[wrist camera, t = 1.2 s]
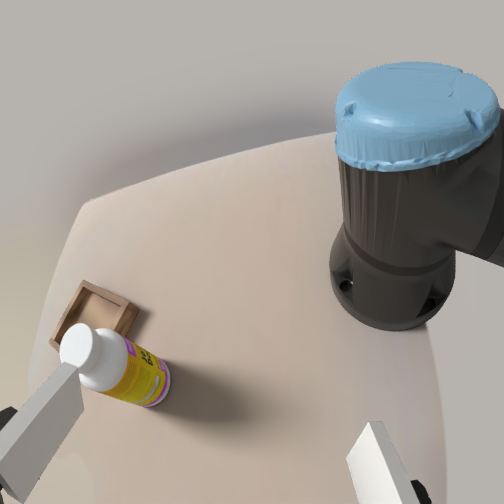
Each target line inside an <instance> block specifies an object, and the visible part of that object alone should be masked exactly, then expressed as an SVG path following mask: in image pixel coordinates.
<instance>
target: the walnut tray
mask: <svg viewBox="0 0 504 504" xmlns="http://www.w3.org/2000/svg"><path fill="white" fill-rule="evenodd" d="M138 311H139V309H138V308H137V307H135V306H134V305H133V304H132V303H130V302H129V301H127V300H125V299H123V298H120V297H118V296H116V295H114V294H112V293H110V292H108V291H106V290H103V289H101V288H99V287H97V286H95V285H93V284H91V283H89V282H87V281H85V280H83V281H82V282H81V284H80V286H79V287H78V289H77V291H76V292H75V294H74V296H73V298H72V299H71V301H70V303H69V305H68V307H67V308H66V310H65V312H64V314H63V316H62V317H61V319H60V321H59V323H58V325H57V327H56V329H55V331H54V333H53V335H52V337H51V339H50V341H49V344H50V345H51V346H52V347H53V348H55V349H56V350H57V351H58V352H59V353H60V345H61V341H62V339H63V336H64V335H65V333H66V332H67V330H68V329H69V328H70V327H72V326H73V325H75V324H78V323H84V324H86V325H88V326H90V327H91V328H93V329H94V330H96V329H100V328H107V329H111V330H113V331H115V332H116V333H118V334H120V335H121V336H123V337H125V336H126V334H127V332H128V330H129V328H130V326H131V324H132V322H133V320H134V319H135V317H136V315H137V313H138Z"/></svg>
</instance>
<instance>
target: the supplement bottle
mask: <svg viewBox="0 0 504 504" xmlns="http://www.w3.org/2000/svg"><path fill="white" fill-rule="evenodd" d="M60 359H61V362H62V363H63V362H64V361H65V362H67V363H70V364H72V365H74V366H77V367H78V371H79V379H80V381H81V382H82V383H83V384H84V385H85V386H86V387H87V388H89V389H91V390H94V391H96V392H99V393H102V394H105V395H108V396H111V397H114V398H117V399H120V400H123V401H126V402H129V403H132V404H135V405H139V406H143V407H149V406H154V405H156V404H158V403H159V402H161V401H162V400H163V399H164V398H165V396H166V395H167V393H168V390H169V387H170V373H169V370H168V367H167V366H166V364H165V363H164V362H163V361H162V360H161V359H160V358H158V357H156V356H155V355H153V354H151V353H150V352H148V351H146V350H145V349H143V348H141V347H139V346H138V345H136V344H134V343H133V342H131V341H129V340H128V339H126V338H124V337H123V336H121V335H120V334H118V333H116V332H115V331H113V330H111V329H107V328H100V329H96V330H94V329H93V328H91V327H90V326H88V325H86V324H84V323H78V324H75V325H73V326H72V327H70V328H69V329H68V330H67V332H66V333H65V335H64V336H63V339H62V341H61V345H60Z"/></svg>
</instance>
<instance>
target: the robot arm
mask: <svg viewBox="0 0 504 504" xmlns="http://www.w3.org/2000/svg"><path fill="white" fill-rule="evenodd" d="M335 114H336V129H337V134H336V139H335V148H336V153H337V155H338V162H339V172H340V182H341V194H342V207H343V221H344V222H343V224H342V226H341V228H340V230H339V232H338V234H337V237H336V239H335V241H334V243H333V246H332V249H331V254H330V261H329V266H330V278H331V284H332V287H333V290H334V293H335V295H336V297H337V299H338V300H339V302H340V303H341V305H342V306H343V307H344V308H345V310H346V311H347V312H348V313H349V314H351V315H352V316H353V317H354V318H356V319H357V320H359V321H360V322H362V323H364V324H366V325H368V326H371V327H374V328H377V329H382V330H389V331H400V330H407V329H411V328H414V327H417V326H419V325H421V324H423V323H425V322H427V321H428V320H429V319H431V318H432V317H433V316H434V315H435V314H436V313H437V312H438V311H439V310H440V308H441V307H442V306H443V304H444V303H445V301H446V300H447V298H448V296H449V294H450V292H451V290H452V287H453V283H454V279H455V250H457V251H461V252H464V253H467V254H470V255H473V256H475V257H478V258H481V259H483V260H486V261H489V262H491V263H494V264H496V265H499V266H502V267H504V109H501V108H500V106H499V103H498V99H497V96H496V94H495V93H494V91H493V89H492V88H491V87H490V86H489V85H488V84H487V83H486V82H485V81H483V80H482V79H480V78H478V77H477V76H475V75H473V74H469V73H463V71H462V70H461V69H459V68H456V67H452V66H448V65H443V64H437V63H430V62H400V63H392V64H386V65H382V66H379V67H375V68H372V69H369V70H366V71H364V72H362V73H360V74H359V75H357V76H355V77H354V78H352V79H351V80H350V81H348V82H347V83H346V84H345V86H344V87H343V88H342V90H341V91H340V93H339V95H338V97H337V100H336V107H335ZM83 410H84V405H83V399H82V393H81V386H80V379H79V371H78V367H77V366H74V365H72V364H70V363H67V362H65V361H64V362H63V363H62V364H61V365H60V366H59V367H58V368H57V369H56V371H55V372H54V373H53V374H52V375H51V376H50V377H49V378H48V379H47V380H46V381H45V382H44V383H43V384H42V385H41V386H40V387H39V389H38V390H37V391H36V392H35V393H34V394H33V395H32V396H31V397H30V398H29V400H28V401H27V402H26V403H25V404H24V405H23V406H22V407H21V408H20V410H19V411H17V410H16V409H14V408H13V407H11V406H10V407H9V408H6V409H4V410H2V411H1V412H0V491H1V490H2V488H4V490H5V491H6V492H7V494H8V495H10V496H11V497H13V498H14V499H16V500H17V501H19V502H21V503H22V504H24V502H25V501H26V499H27V497H28V496H29V494H30V492H31V491H32V489H33V487H34V486H35V484H36V482H37V481H38V479H39V478H40V476H41V474H42V473H43V471H44V470H45V468H46V467H47V465H48V463H49V462H50V460H51V459H52V457H53V456H54V454H55V452H56V451H57V449H58V448H59V446H60V445H61V443H62V442H63V440H64V439H65V437H66V436H67V434H68V433H69V431H70V430H71V428H72V427H73V425H74V424H75V422H76V421H77V419H78V418H79V416H80V415H81V413H82V412H83ZM346 460H347V463H348V466H349V470H350V473H351V477H352V480H353V484H354V487H355V491H356V494H357V498H358V502H359V504H431V503H432V502H431V500H430V498H429V497H428V496H429V495H428V493H427V491H426V489H425V487H424V486H423V485H422V484H421V483H420V482H419V481H418V480H413V481H410V480H409V478H408V475H407V473H406V471H405V469H404V467H403V464H402V462H401V460H400V458H399V456H398V453H397V451H396V449H395V447H394V445H393V443H392V441H391V438H390V436H389V434H388V432H387V430H386V428H385V426H384V424H383V422H382V421H379V422H368V423H367V425H366V427H365V428H364V430H363V432H362V433H361V435H360V437H359V438H358V440H357V442H356V443H355V445H354V446H353V448H352V449H351V451H350V453H349V454H348V456H347V457H346ZM0 504H4V503H3V498H2V495H1V492H0Z"/></svg>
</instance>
